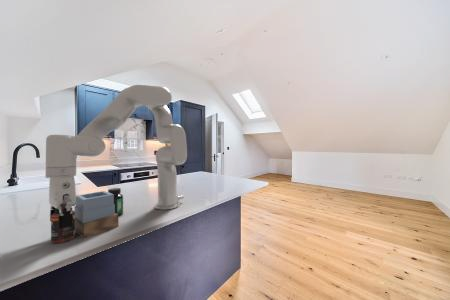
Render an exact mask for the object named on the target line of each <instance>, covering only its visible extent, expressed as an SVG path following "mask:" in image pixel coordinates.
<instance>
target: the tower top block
mask: <svg viewBox="0 0 450 300" xmlns="http://www.w3.org/2000/svg"><path fill="white" fill-rule="evenodd" d="M73 207H74V210H73V211H74V212H75V218H77V219H78V220H79V221H81V222H82V223H86V222H90V221H94V220H98V219H101V218H105V217H109V216H112V215H115V204H114V194H111V193H109V192H108V191H105V190H101V191H94V192H88V193H83V194H76V205H75V206H73Z"/></svg>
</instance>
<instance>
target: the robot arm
mask: <svg viewBox="0 0 450 300" xmlns="http://www.w3.org/2000/svg"><path fill="white" fill-rule="evenodd" d="M172 98H173V96H172V93H171V91H170V90H169V89H168V88H167V87H164V86H162V85H161V86H159V85H146V84H134V85H131V86H129V87H126V88H124V89H122V90H121V91H120V92H119V93H118V94H117V95H116V96H115V97H114V99H113V100H111V102H110V103H109V104H108V105H107V106H106V107H105V108H104V109H103V110H102V111H101V112H100V113H99V114H98V115H97V116H96V117H94V118H93V119H92V120H91V121H90V122H88V123H87V125H86V126H85V127H84V128H83V129H81V131H80V132H79V133H78V134H77V135H75V136H74V135H70V134H50V135H49V134H48V135H47V136H46V138H45V139H46V140H45V178H46V179H49V185H48V186H49V187H48V188H49V189H48V201H49V205H50V210H49V213H50V214H49V221H50V222H51V215H52V214H54V212H55V208H57V209H59V212H60V216H59V226H58V228H59V229H62V228H66V227H70V226H72V210H73V207H74V206H76V195H77V194H76V193H77V192H76V190H77V189H76V180H75V177H76V176H77V156H81V157H89V158H90V157H97V156H100V155H102V154H103V153H104V152H105V150H106V144H105V141H104V140H103V139H104V138H105V137H106V136H108V135H109V134H110V133H111V132H113V131H115V130H117V129H119V128H120V127H122V126H124V124H126V122H127V121H128V120H129V118H130V117H131V116H132V114H133V113H134V112H135V110H137V108H139V107H143V106H145V107H146V108H147V109H148V110H150V111H151V112H152V114H153V116H154V119H155V120H154V121H155V131H156V138H157V140H158V142H159V143H161V144H165V146H162V147H159V148H158V149H157V151H156V153H155V160H156V162H155V163H156V165H157V166H156V167H157V202H156V203H155V204H154V208H155V209H156V210H164V211H166V210H172V209H175V208H178V207H179V206H181V202H180V200H183V199H184V197H185V196H184V194H183V195H182V194H181V195H177V194H178V192H177V191H178V189H177V186H178V184H177V183H178V181H177V176H178V175H177V167H176V166H180V165H183V164H185V162H186V161H187V158H188V145H187V144H188V143H187V134H186V131H185V129H184V127H183V126H181V125H180V124H177V123H175V124H174V122H173V121H174V120H173V115H172V112H171V110H170V109H169V108H168V105H170V103H172V100H173V99H172ZM166 144H170V146H169V145H168V146H167V145H166ZM62 205H63V206H62ZM62 209H63V210H62Z"/></svg>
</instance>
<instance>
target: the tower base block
mask: <svg viewBox="0 0 450 300" xmlns="http://www.w3.org/2000/svg"><path fill="white" fill-rule="evenodd" d="M118 227H119V217H118V214H116V213H115V215H112V216H109V217H105V218H101V219H98V220H94V221H90V222H86V223H82V222H81V221H79V220H78V219H77V218H75V233H77V234H78V235H79V236H81V237H82V238H84V239H85V238H88V237H91V236H93V235H96V234H99V233H103V232H105V231H108V230H111V229H115V228H118Z"/></svg>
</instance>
